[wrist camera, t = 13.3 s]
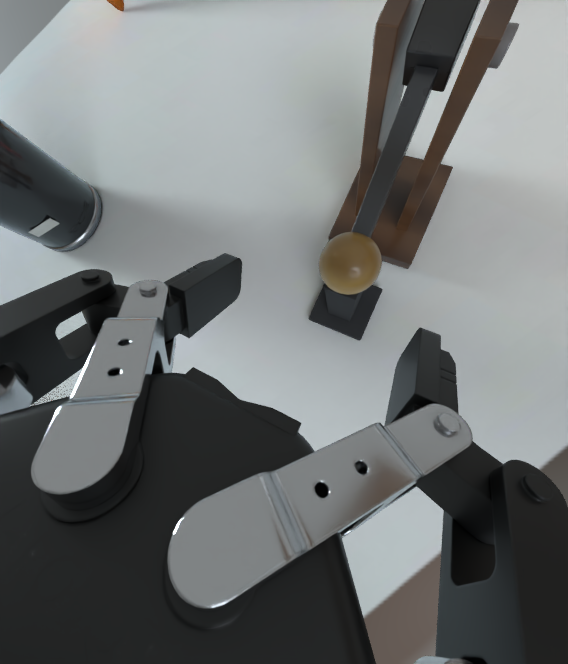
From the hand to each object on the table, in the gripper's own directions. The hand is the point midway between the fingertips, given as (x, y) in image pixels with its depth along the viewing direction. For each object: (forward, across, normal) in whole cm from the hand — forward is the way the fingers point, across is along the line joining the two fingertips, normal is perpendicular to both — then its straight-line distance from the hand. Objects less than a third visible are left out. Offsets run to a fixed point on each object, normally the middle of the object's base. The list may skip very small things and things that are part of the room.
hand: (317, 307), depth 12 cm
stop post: (+13, 0, +7) cm, 15 cm away
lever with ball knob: (+10, 0, -4) cm, 10 cm away
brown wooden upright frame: (+20, 0, 0) cm, 20 cm away
